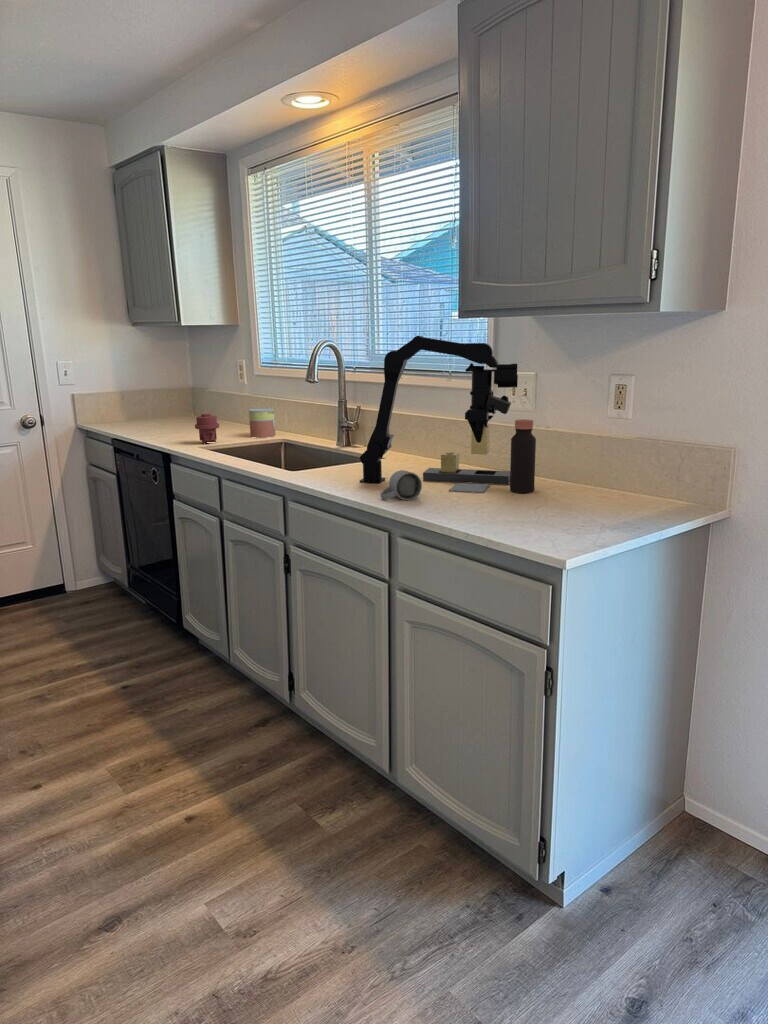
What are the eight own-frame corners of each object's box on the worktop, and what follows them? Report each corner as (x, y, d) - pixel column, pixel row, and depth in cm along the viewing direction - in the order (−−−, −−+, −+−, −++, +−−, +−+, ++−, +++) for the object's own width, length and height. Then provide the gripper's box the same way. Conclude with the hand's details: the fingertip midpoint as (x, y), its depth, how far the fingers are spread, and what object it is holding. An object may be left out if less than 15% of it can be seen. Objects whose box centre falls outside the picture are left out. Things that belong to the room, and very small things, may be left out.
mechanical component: (198, 445, 295) (194, 442, 304) (222, 443, 299) (217, 440, 308) (196, 416, 292) (192, 413, 301) (220, 414, 296) (215, 412, 305)
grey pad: (483, 493, 199) (483, 491, 199) (448, 491, 202) (448, 490, 202) (489, 485, 208) (489, 484, 208) (456, 484, 211) (456, 483, 211)
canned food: (277, 437, 314) (275, 410, 311) (251, 438, 312) (249, 411, 309) (274, 434, 325) (272, 407, 322) (249, 435, 322) (247, 409, 319)
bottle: (531, 494, 196) (533, 422, 191) (507, 492, 199) (508, 421, 194) (536, 489, 202) (539, 419, 197) (513, 487, 205) (515, 418, 200)
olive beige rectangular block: (486, 454, 207) (487, 426, 205) (471, 454, 208) (471, 426, 206) (488, 452, 211) (489, 424, 209) (473, 451, 212) (474, 424, 210)
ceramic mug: (412, 493, 201) (411, 466, 199) (422, 499, 193) (422, 471, 191) (376, 497, 198) (375, 470, 196) (385, 503, 190) (384, 475, 188)
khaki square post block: (455, 481, 216) (455, 454, 214) (440, 480, 217) (440, 454, 215) (458, 478, 220) (459, 452, 218) (444, 477, 221) (444, 451, 219)
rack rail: (508, 484, 209) (508, 476, 209) (423, 480, 217) (423, 472, 216) (512, 479, 217) (512, 471, 216) (429, 475, 224) (429, 467, 224)
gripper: (505, 390, 194) (503, 447, 198) (513, 385, 211) (511, 437, 215) (465, 390, 197) (464, 445, 201) (476, 385, 214) (475, 436, 218)
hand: (480, 441), depth 209 cm, fingers closed on olive beige rectangular block, 5 cm apart
